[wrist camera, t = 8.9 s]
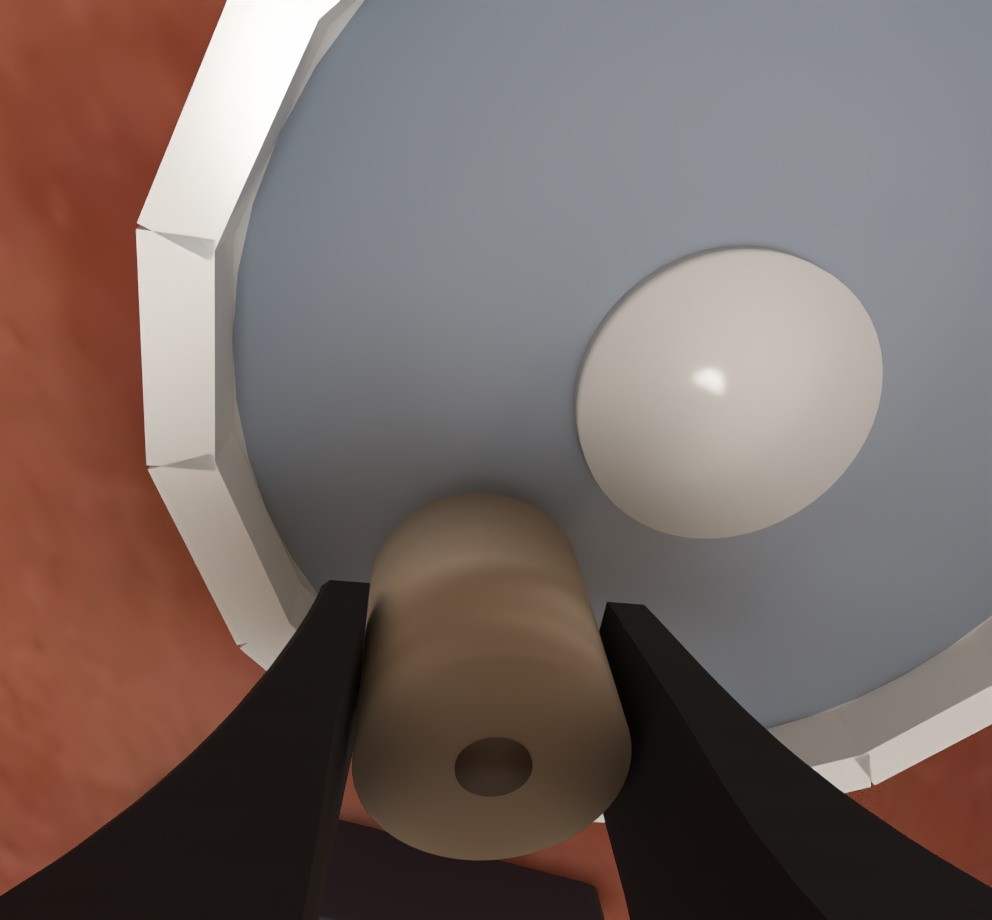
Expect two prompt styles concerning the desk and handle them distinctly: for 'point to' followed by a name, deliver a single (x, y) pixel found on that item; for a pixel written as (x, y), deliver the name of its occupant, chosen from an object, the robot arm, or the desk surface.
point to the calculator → (440, 885)
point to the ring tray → (602, 326)
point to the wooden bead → (484, 686)
